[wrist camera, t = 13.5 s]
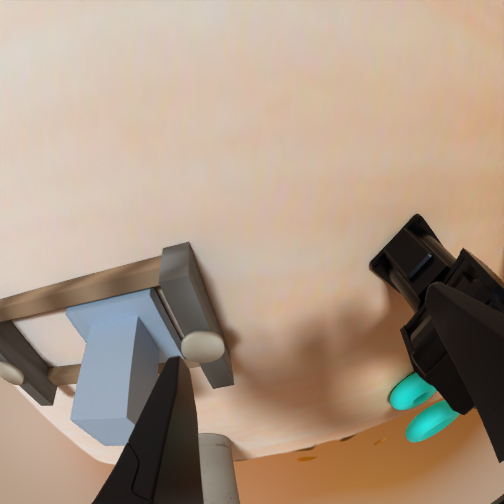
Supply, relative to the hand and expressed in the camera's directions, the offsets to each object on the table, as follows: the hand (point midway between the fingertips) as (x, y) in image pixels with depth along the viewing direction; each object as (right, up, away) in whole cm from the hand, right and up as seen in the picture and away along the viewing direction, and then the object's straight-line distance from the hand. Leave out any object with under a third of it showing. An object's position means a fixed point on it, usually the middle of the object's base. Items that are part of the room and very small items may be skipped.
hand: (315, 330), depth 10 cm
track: (-17, -5, +16) cm, 23 cm away
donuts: (+25, -19, +33) cm, 46 cm away
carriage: (-13, -4, +16) cm, 21 cm away
